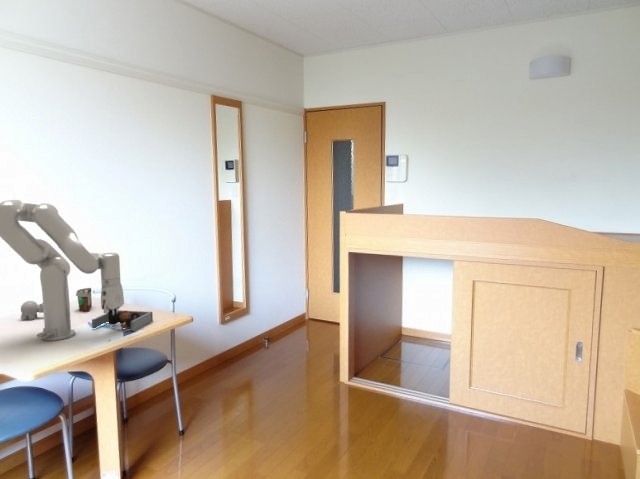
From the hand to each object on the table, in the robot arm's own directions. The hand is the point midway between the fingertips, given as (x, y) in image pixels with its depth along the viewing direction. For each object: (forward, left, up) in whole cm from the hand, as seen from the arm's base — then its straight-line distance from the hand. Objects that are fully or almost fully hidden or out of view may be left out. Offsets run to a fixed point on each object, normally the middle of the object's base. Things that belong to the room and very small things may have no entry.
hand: (113, 323), depth 205 cm
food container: (+29, +35, -3) cm, 46 cm away
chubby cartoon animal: (+11, +47, -3) cm, 49 cm away
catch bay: (+7, 0, -3) cm, 8 cm away
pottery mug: (+6, -2, -3) cm, 8 cm away
